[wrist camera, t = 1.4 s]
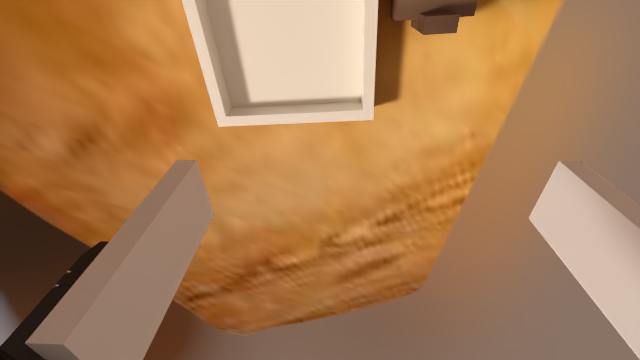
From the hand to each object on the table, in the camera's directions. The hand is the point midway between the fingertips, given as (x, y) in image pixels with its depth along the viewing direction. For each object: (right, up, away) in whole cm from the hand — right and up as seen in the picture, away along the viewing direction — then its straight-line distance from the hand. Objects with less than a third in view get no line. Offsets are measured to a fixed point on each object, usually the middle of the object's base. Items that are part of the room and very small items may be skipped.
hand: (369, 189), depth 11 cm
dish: (-5, +14, +15) cm, 21 cm away
